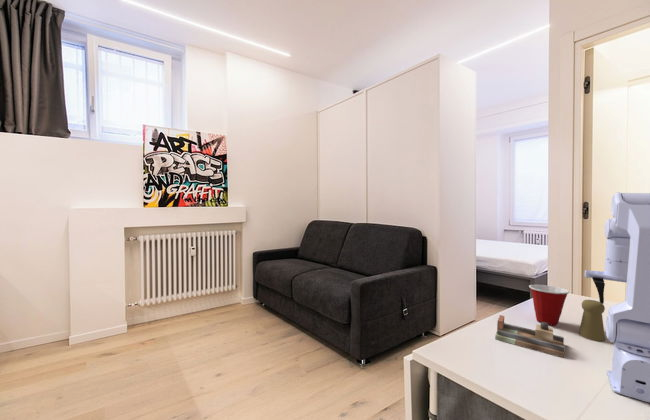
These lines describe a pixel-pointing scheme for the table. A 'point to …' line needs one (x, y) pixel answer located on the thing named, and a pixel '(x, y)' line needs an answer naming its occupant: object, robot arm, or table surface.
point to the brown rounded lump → (592, 321)
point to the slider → (544, 332)
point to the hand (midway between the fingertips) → (615, 305)
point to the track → (528, 338)
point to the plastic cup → (548, 303)
